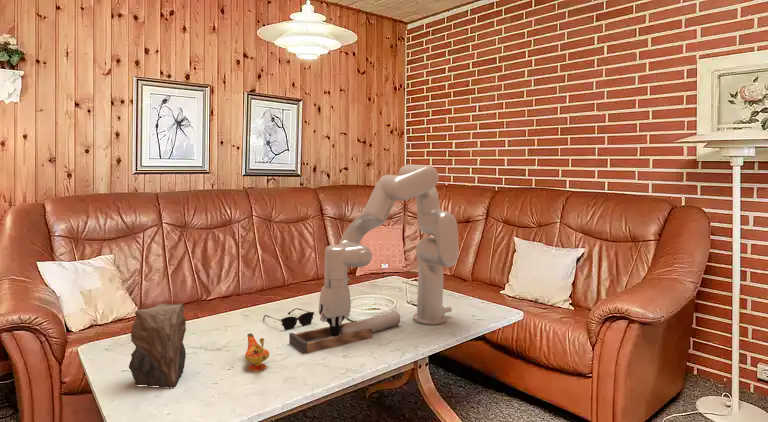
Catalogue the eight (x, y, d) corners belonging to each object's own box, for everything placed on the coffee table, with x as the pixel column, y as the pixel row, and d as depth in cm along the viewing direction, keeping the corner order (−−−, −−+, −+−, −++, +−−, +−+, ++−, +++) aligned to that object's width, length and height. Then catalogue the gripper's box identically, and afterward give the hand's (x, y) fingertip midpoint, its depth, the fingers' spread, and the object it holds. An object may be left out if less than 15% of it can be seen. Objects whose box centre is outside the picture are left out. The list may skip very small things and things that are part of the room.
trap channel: (356, 329, 181) (356, 319, 181) (372, 338, 173) (372, 328, 172) (289, 343, 166) (289, 333, 166) (303, 354, 158) (303, 343, 157)
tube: (348, 331, 167) (402, 315, 184) (338, 323, 170) (392, 307, 187) (344, 345, 169) (398, 328, 185) (335, 336, 172) (389, 320, 189)
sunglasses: (281, 332, 177) (281, 318, 177) (259, 323, 189) (259, 310, 189) (314, 324, 186) (314, 311, 186) (291, 316, 198) (291, 303, 198)
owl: (127, 386, 134) (124, 313, 132) (152, 367, 147) (150, 299, 144) (174, 389, 133) (171, 315, 131) (195, 369, 146) (193, 301, 144)
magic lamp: (260, 352, 159) (260, 318, 157) (275, 375, 143) (275, 337, 141) (238, 355, 156) (237, 321, 154) (250, 379, 140) (250, 340, 138)
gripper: (349, 277, 175) (348, 329, 177) (310, 282, 167) (309, 336, 169) (360, 282, 169) (359, 335, 171) (321, 288, 161) (320, 344, 163)
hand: (334, 336), depth 170 cm, fingers closed
